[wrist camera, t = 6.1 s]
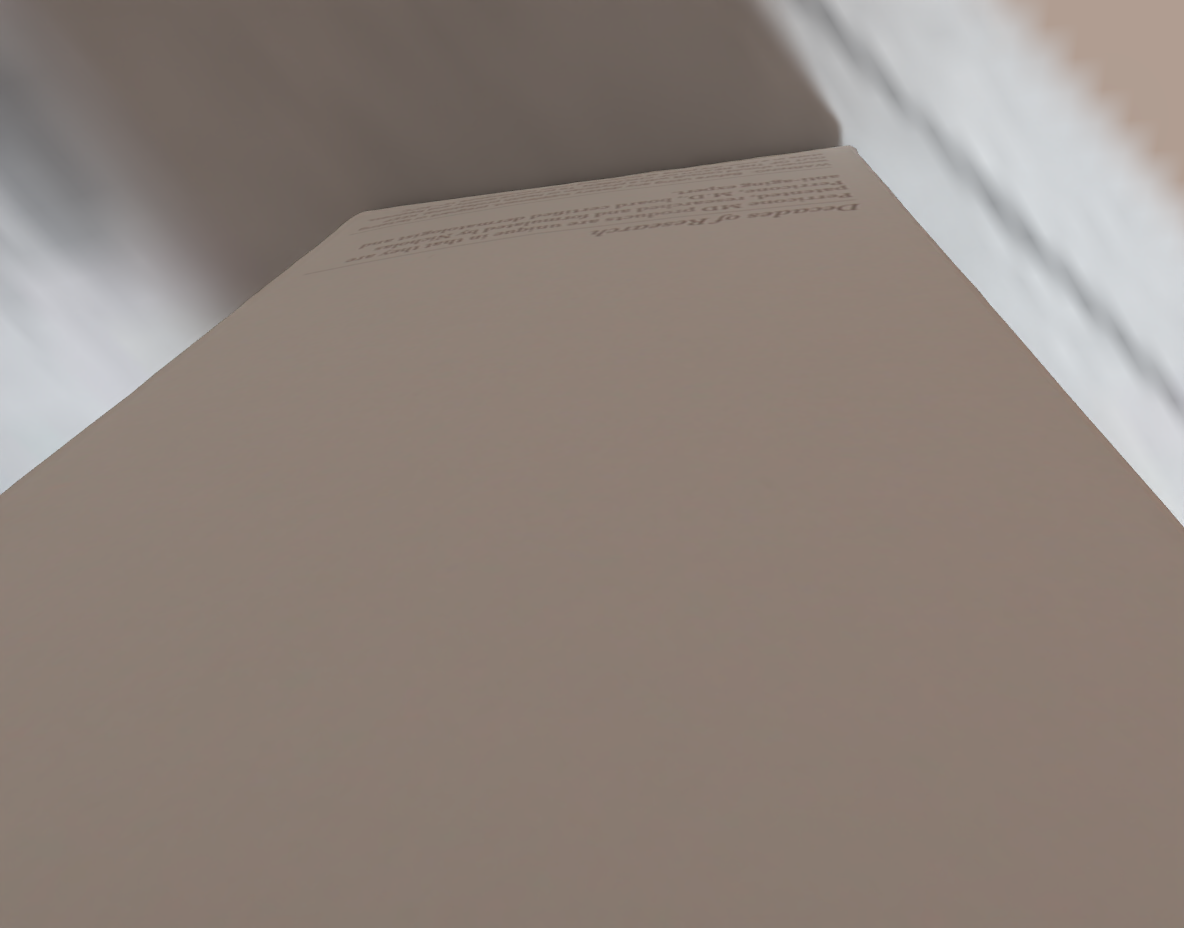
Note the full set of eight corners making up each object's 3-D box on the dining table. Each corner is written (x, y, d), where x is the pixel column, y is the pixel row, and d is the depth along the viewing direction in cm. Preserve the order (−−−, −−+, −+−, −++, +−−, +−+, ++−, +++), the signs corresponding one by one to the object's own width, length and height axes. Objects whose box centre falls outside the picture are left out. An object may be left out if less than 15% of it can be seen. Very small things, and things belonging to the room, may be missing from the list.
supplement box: (343, 201, 13) (-1480, 1452, 2) (866, 134, 12) (2941, 2064, 1) (452, 602, 17) (-12, 1863, 6) (863, 579, 15) (1300, 2096, 4)
